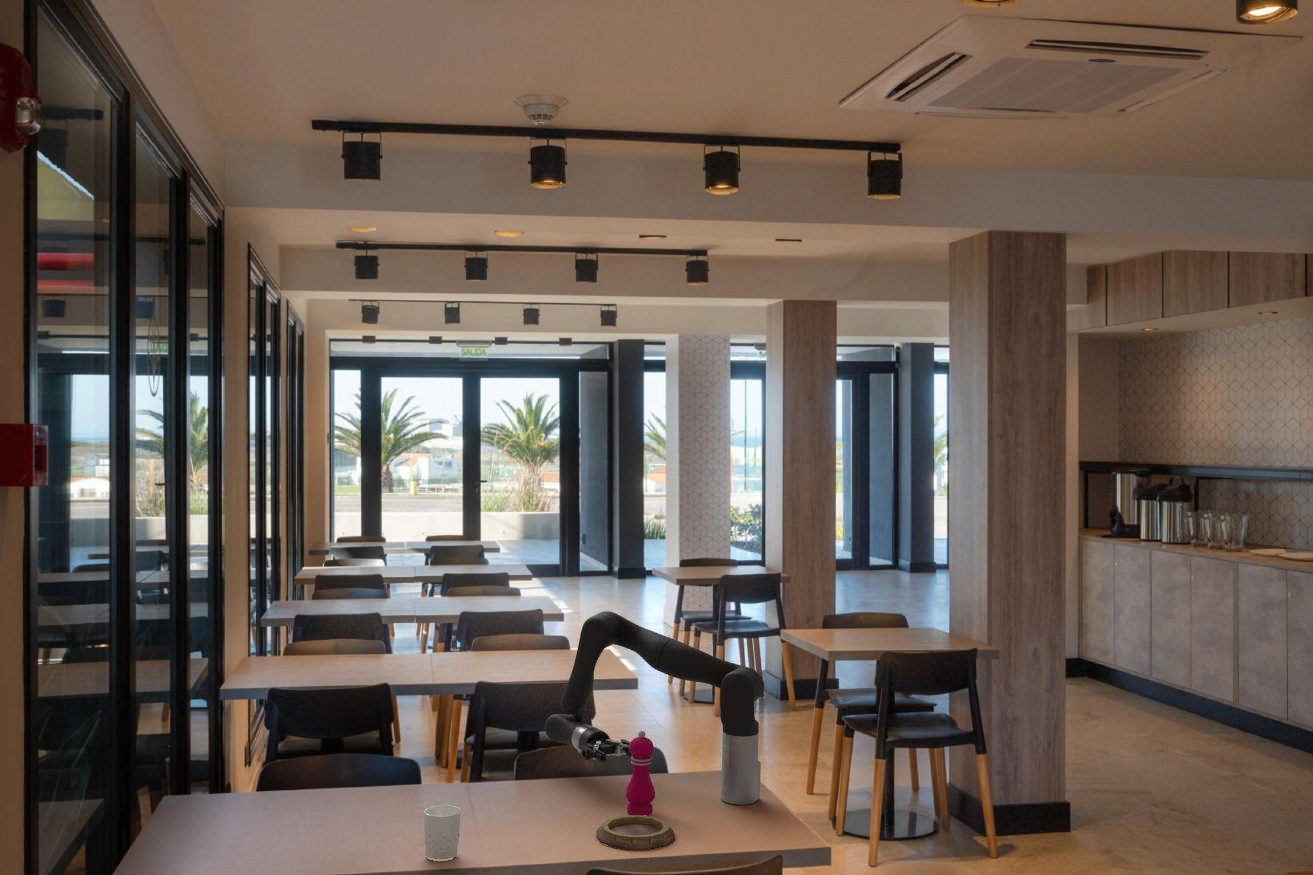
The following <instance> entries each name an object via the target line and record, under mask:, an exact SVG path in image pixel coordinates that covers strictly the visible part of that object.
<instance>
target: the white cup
mask: <svg viewBox="0 0 1313 875" xmlns="http://www.w3.org/2000/svg"><path fill="white" fill-rule="evenodd" d="M461 815H462V810H461V808H460V807H458V806H456V805H449V804H448V805H447V804H441V805H432V806H430V807H427V808H425V809H424V811H423V819H424V820H423V822H424V823H423V826H424V828H423V829H424V830H423V831H424V832H423V833H424V846H425V857H426V856H427V857H430V858H434V859H448V858H452V857H455V856H457V857H458V850H459V842H460V829H461Z"/></svg>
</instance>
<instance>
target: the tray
mask: <svg viewBox="0 0 1313 875" xmlns="http://www.w3.org/2000/svg"><path fill="white" fill-rule="evenodd" d="M595 834H596V836H595V837H597V838H596V839H598V840H599V841H600V842H599V841H598V840H597V841H598V842H599V843H601V844H602V843H604V844H606V845H608V846H607V847H609V846H611V847H610V848H613V847H616V848H615V849H617V848H620V849H619V850H623V849H624V850H625V851H649V850H656V849H655V848H657V849H660V848H659V847H661V848H665V847H667V846H669V845H670V843H671V844H672V843H673V842H674V841H675V831H674V829H673V828H672V827H670V825H669V824H668V822H667V821H665V820H663V819H661V818H658V817H654V816H650V815H648V816H642V815H630V814H628V815H625V814H624V815H619V816H614V817H611V818H607V820H605V821H604V822H603V823H602V824H601V825H600V826H599V827H597V829H596V832H595ZM673 840H674V841H673ZM604 844H603V845H604ZM606 845H605V846H606Z"/></svg>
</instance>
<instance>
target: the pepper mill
mask: <svg viewBox="0 0 1313 875" xmlns="http://www.w3.org/2000/svg"><path fill="white" fill-rule="evenodd" d="M637 735H638V736H636V737H635V738H633V739H632V740H631V741H630V742H631V743H630V746H629V751H630V753H631V754H632V757H631V758H630V763H631V765H632V774H631V778H630V781H629V782H628V785H627V786H626V790H625V798H626V800H627V802H628V804H627V807H626V808H627V809H626V810H627V811H626V813H629V814H628V815H630V814H631V815H642V816H644V815H648V816H650V814H651V813H652V812H654V807H653V806H654V805H653V804H652V802H653V801H654V800H655V798H656V791H655V787H654V784H653V782H652V780H651V779H652V778H651V776H650V765H651V764H652V756H651V755H652V754H653V753H654V743H653V741H652V739H650V738H648V737H646V732H645V730H640V731H639V732H638V733H637ZM652 814H653V813H652ZM652 814H651V815H652Z"/></svg>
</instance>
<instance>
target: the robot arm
mask: <svg viewBox="0 0 1313 875" xmlns="http://www.w3.org/2000/svg"><path fill="white" fill-rule="evenodd" d="M612 645H616V646H619V647H622V648H625V649H627V650H631V651H633V652H634V653H636V654H637V655H639V656H640V657H641V659H643V661H644V662H646V663H647V665H649V666H650V668H652V669H653V670H656V671H657V672H660V673H663V674H665V675H668V677H669V676H670V677H672V678H676V679H679V680H683V681H687V682H695V683H702V684H706V685H710V686H713V687H715V688H717V689H720V690H719V716H720V717H719V719H720V722H721V725H722V736H721V739H722V740H721V741H722V742H721V744H722V745H721V746H722V747H721V749H722V750H721V783H720V784H721V786H720V787H721V790H720V795H721V797H720V799H721V801H722V802H724V803H728V804H732V805H750V804H751V805H752V804H754V803H756V802H757V801H758V800H760V799H761V773H762V772H761V770H762V768H761V766H762V765H761V764H762V762H761V761H759V738H760V737H759V734H760V733H759V732H760V731H759V730H760V729H759V728H760V725H759V721H758V720H757V719H756V718H755V702H756V701H757V700H758V699H760V698H761V696H762V695H763V693H764V691H765V683H764V679H763V677H762V676H761V674H760V673H759V672H758V671H757V670H755V669H754V668H751V667H748V666H746V665H742V664H737V663H734V662H731V661H726V660H725V659H720V658H719V657H717V656H714V655H711V654H710V653H707V652H705V651H703V650H700V649H698V648H696V647H693V646H690V645H688V644H686V643H685V642H682V641H679V640H677V639H675V638H672V637H670V636H669V637H668V636H666V635H663V634H661V633H659V632H656V631H653V630H650V629H648V628H645V627H643V626H641V625H639V624H637V623H635V622H633V621H631V620H629V619H627V618H625V617H623V616H622V615H620V614H618V613H616V612H613V611H609V610H605V611H604V610H603V611H601V612H598V613H596V614H594V615H592V616H590V617H589V618H587V619H586V620H585V621H584V623H583V624H582V627H581V630H580V634H579V640H578V645H577V649H576V655H575V659H574V663H573V666H572V670H571V673H570V675H569V678H568V681H567V684H566V686H565V688H564V691H563V695H562V696H561V699H560V706H561V708H562V710H564V711H565V712H567V713H569V714H562V713H555V714H554V713H553V714H551V715H550V716H548V717H547V718H546V720H545V723H544V732H545V734H546V736H547V738H549V740H551V741H554V742H556V743H559V744H565V745H568V746H570V747H571V748H574V749H575V750H577V755H578V756H579V757H581V758H583V759H585V760H586V761H589V760H590V759H592V760H594V761H595V760H597V761H599V762H601V763H606V761H607V756H608V757H610V756H614V757H615V756H616V757H620V756H622V755H623V756H627V757H629V758H630V759H631V757H632V754H631V753H630V751H629V746H630V743H631V741H629V740H627V739H624V738H622V739H620V741H618V740H616V741H615V740H613V739H611V738H610V736H609V734H608V733H607V732H606V731H603V730H602V729H599V728H598V727H595V726H593V725H589V724H587V723H585V712H586V707H587V704H588V703H589V699H590V697H591V694H592V692H593V688H594V682H595V681H594V680H595V670H596V665H597V662H598V660H599V659H600V656H601V655H602V653H603V652H604V650H605V649H606V648H608V647H610V646H612Z"/></svg>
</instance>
